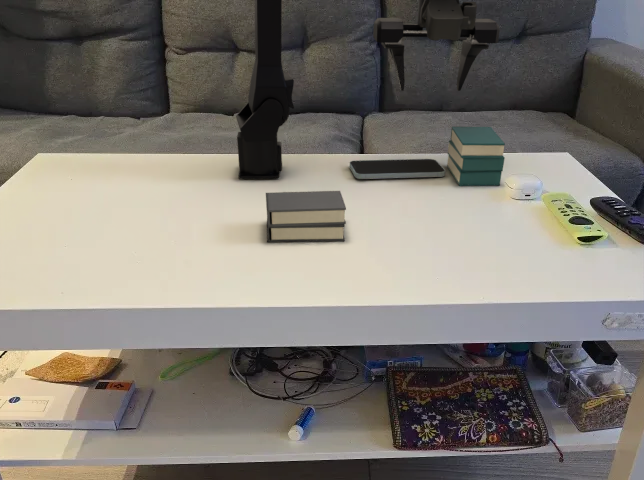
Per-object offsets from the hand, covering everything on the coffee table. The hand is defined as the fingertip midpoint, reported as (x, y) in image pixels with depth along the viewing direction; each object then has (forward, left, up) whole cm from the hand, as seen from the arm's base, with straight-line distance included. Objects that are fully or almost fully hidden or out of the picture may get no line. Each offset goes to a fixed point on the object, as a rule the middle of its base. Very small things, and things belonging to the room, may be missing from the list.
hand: (430, 90), depth 108 cm
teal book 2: (+7, -6, -10) cm, 13 cm away
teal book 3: (+7, -6, -12) cm, 15 cm away
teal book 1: (+7, -6, -8) cm, 12 cm away
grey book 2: (-21, -29, -12) cm, 38 cm away
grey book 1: (-21, -29, -10) cm, 37 cm away
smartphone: (-5, -4, -12) cm, 14 cm away
